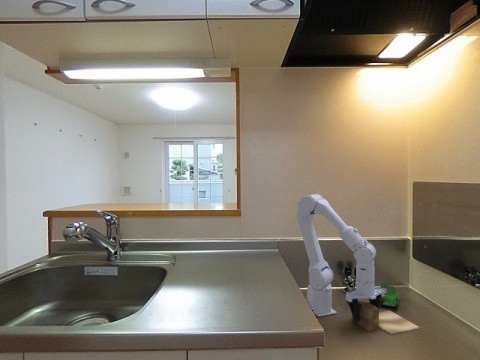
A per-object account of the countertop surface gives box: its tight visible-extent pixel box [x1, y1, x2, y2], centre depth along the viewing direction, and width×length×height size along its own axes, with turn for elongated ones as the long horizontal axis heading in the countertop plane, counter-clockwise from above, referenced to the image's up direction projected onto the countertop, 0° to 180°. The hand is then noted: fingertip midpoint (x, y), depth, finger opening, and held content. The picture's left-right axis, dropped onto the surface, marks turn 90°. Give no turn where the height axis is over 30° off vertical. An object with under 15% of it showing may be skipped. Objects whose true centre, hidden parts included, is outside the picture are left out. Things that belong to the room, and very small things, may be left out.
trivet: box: [379, 310, 420, 336], centre depth 96 cm, size 12×12×1 cm
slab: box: [351, 299, 380, 332], centre depth 95 cm, size 4×8×7 cm, turn 18°
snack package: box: [379, 284, 400, 308], centre depth 111 cm, size 7×16×5 cm, turn 148°
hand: (365, 318), depth 95 cm, fingers open, 7 cm apart
